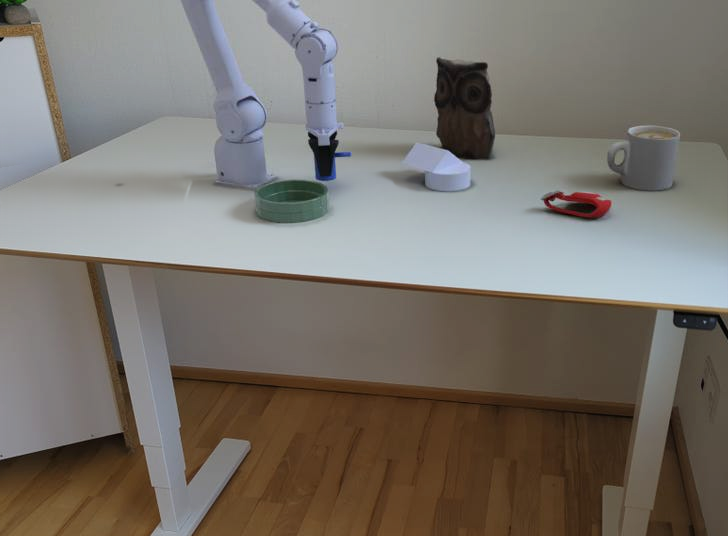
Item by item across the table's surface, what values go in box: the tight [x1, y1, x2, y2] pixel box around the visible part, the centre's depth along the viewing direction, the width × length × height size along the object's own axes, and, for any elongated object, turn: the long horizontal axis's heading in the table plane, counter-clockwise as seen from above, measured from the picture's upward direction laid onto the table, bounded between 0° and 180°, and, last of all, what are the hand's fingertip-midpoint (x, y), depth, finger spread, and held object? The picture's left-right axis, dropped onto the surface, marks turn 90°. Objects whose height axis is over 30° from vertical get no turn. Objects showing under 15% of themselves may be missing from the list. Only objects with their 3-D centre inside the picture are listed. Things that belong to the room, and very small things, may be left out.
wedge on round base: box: [401, 141, 472, 192], centre depth 158 cm, size 9×7×13 cm
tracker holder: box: [540, 189, 612, 219], centre depth 144 cm, size 12×4×10 cm
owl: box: [433, 56, 496, 160], centre depth 172 cm, size 13×13×20 cm
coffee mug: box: [606, 125, 681, 192], centre depth 156 cm, size 13×10×10 cm
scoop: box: [313, 151, 352, 182], centre depth 154 cm, size 7×4×5 cm, turn 98°
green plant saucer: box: [253, 179, 330, 224], centre depth 145 cm, size 13×13×4 cm
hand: (325, 172), depth 154 cm, fingers closed on scoop, 4 cm apart
